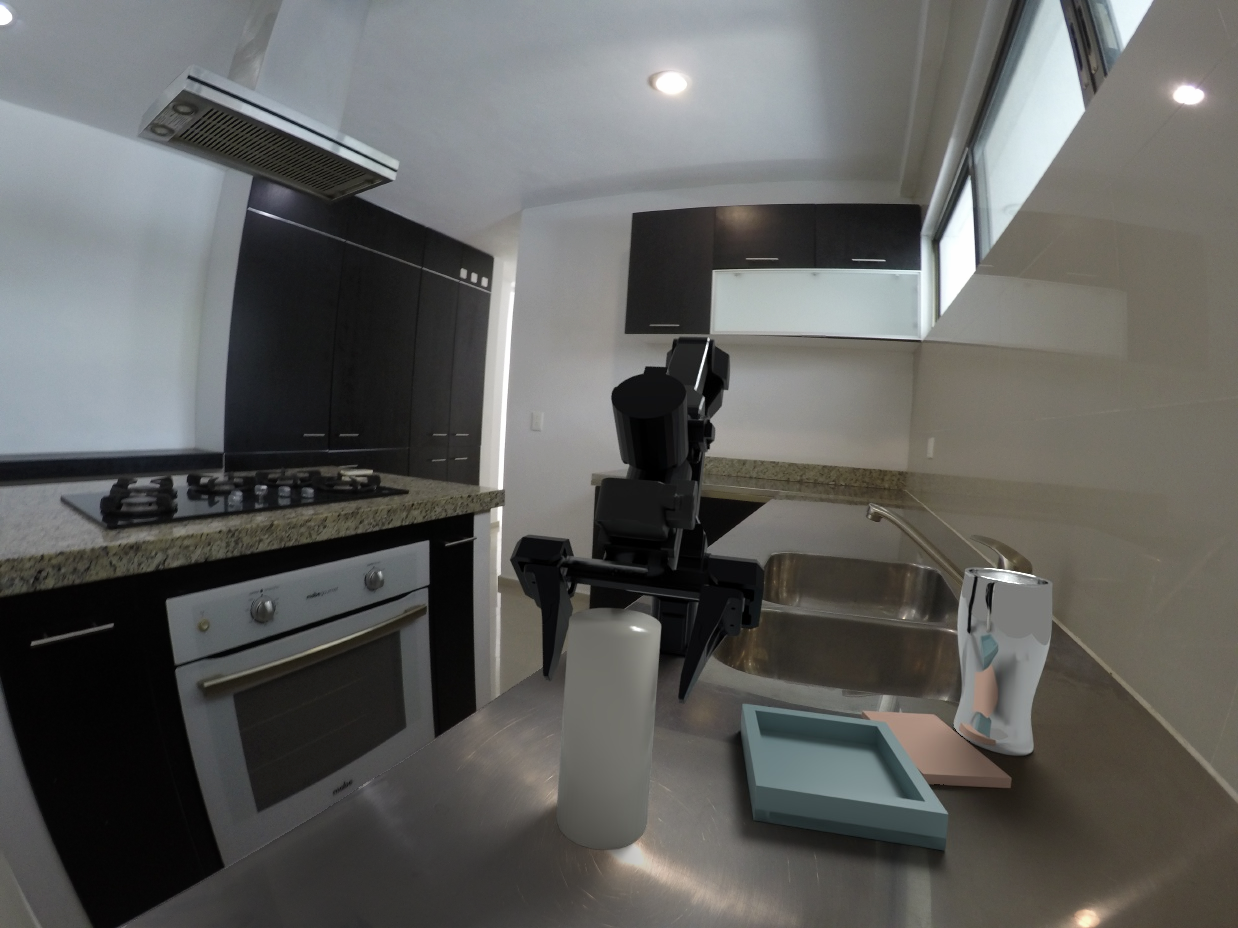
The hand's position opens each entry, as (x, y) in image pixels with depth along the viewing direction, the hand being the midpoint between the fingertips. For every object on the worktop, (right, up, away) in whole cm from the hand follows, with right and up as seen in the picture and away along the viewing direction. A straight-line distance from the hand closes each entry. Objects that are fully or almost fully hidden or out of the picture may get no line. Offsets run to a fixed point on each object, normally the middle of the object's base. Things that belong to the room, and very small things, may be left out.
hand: (612, 689), depth 37 cm
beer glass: (+35, -10, +14) cm, 39 cm away
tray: (+16, -9, +6) cm, 19 cm away
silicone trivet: (+27, -10, +11) cm, 31 cm away
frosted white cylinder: (-1, -8, 0) cm, 8 cm away
